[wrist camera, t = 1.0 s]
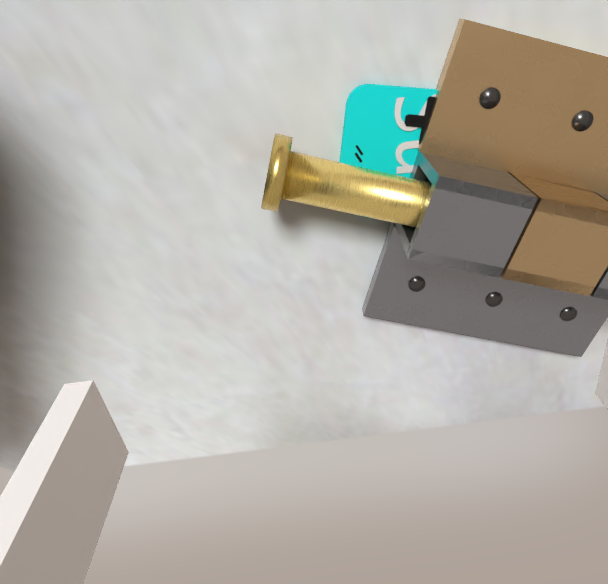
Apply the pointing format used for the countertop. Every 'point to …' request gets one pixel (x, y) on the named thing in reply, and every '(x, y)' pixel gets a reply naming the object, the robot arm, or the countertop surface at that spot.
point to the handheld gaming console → (385, 127)
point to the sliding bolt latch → (507, 199)
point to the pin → (341, 186)
